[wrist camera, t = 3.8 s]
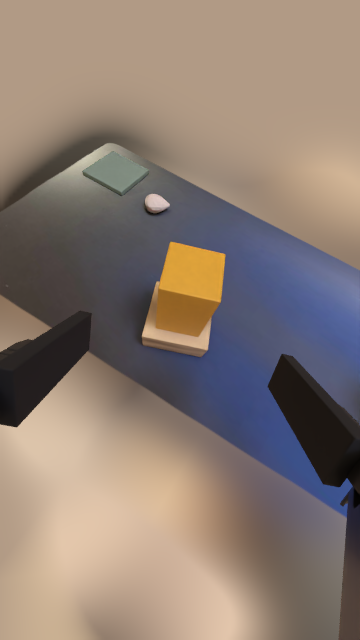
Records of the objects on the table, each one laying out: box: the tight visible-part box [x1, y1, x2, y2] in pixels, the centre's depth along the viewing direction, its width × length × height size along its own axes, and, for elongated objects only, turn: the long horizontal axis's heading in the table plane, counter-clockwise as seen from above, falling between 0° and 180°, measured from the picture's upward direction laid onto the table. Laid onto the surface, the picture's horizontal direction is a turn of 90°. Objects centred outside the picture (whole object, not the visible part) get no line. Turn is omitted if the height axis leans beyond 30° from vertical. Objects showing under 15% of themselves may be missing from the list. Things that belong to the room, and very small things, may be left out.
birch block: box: [142, 282, 212, 357], centre depth 32 cm, size 9×9×4 cm
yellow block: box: [156, 242, 225, 337], centre depth 25 cm, size 6×6×10 cm
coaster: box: [83, 151, 149, 196], centre depth 46 cm, size 10×10×1 cm
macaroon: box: [145, 194, 170, 213], centre depth 42 cm, size 4×5×2 cm
